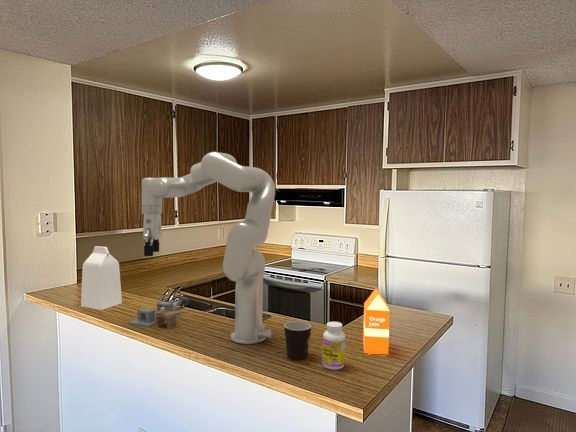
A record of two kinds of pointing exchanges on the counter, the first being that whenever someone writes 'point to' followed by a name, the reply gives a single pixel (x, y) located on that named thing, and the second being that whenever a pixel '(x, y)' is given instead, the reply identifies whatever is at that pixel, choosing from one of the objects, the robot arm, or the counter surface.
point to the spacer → (166, 314)
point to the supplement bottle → (333, 346)
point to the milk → (100, 280)
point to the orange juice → (376, 324)
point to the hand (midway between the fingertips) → (151, 253)
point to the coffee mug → (297, 339)
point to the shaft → (178, 303)
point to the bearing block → (151, 315)
